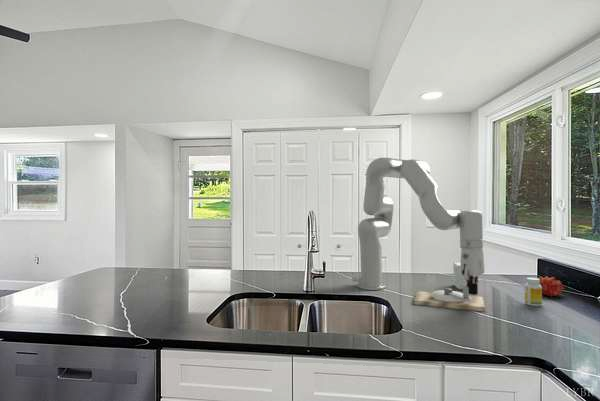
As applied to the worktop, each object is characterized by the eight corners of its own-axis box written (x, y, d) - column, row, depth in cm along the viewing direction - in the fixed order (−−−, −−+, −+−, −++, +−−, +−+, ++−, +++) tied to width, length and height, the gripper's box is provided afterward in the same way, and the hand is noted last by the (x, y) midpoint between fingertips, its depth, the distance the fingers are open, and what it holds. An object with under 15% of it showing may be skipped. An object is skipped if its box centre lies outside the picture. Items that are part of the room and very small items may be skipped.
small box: (471, 289, 152) (471, 265, 152) (457, 289, 153) (457, 265, 153) (466, 285, 160) (466, 262, 160) (453, 284, 161) (453, 262, 161)
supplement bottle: (521, 303, 131) (521, 278, 131) (530, 301, 133) (529, 276, 133) (536, 307, 126) (536, 280, 126) (545, 305, 129) (544, 279, 129)
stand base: (413, 304, 133) (413, 299, 133) (417, 294, 145) (417, 290, 145) (484, 311, 122) (484, 306, 122) (482, 300, 135) (482, 296, 135)
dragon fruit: (530, 298, 142) (561, 303, 141) (542, 290, 135) (574, 295, 134) (525, 279, 147) (555, 283, 146) (537, 270, 140) (568, 275, 139)
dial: (425, 295, 138) (425, 279, 138) (451, 292, 141) (451, 276, 141) (453, 307, 122) (453, 289, 122) (482, 304, 125) (481, 286, 125)
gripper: (473, 247, 120) (474, 300, 120) (490, 243, 130) (491, 292, 129) (451, 245, 125) (452, 296, 125) (469, 241, 135) (470, 288, 135)
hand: (472, 293), depth 127 cm, fingers closed
